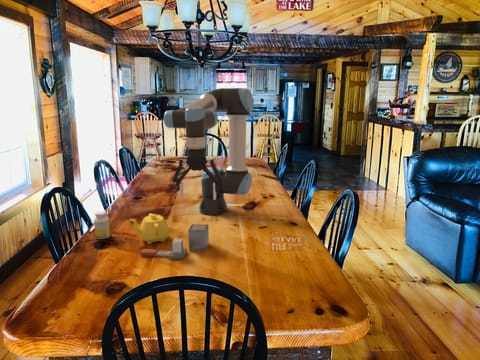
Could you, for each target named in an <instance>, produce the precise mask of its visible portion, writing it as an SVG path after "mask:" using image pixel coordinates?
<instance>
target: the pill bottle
mask: <svg viewBox="0 0 480 360" xmlns="http://www.w3.org/2000/svg"><path fill="white" fill-rule="evenodd" d="M94 215H95V218H94V219H93V224H94V231H95V237H96V238H97V239H98V240H103V239H107V238H110V237H111V235H112V232H111V224H110V223H111V222H110V218H109V217H108V216H107V211H105V210H100V211H96V212H95V213H94Z"/></svg>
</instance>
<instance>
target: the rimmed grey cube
mask: <svg viewBox="0 0 480 360" xmlns="http://www.w3.org/2000/svg"><path fill="white" fill-rule="evenodd" d="M187 231H188V233H187V234H188V235H187V236H188V251H189V252H207V250H208V247H209V244H210V239H209V224H197V223H196V224H194V223H193V224H191V225H190V227H189V229H188V230H187Z"/></svg>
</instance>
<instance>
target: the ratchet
mask: <svg viewBox="0 0 480 360" xmlns="http://www.w3.org/2000/svg"><path fill="white" fill-rule="evenodd" d="M171 245H172V250H170V251H169V250H158V248H142V250H141V251H140V257H150V258H151V257H168V260H182V261H183V260H185V258H186V257H187V254H188V251H189V247H188V248H187V247H186V248H184V238H174V239H173V241H172V244H171Z"/></svg>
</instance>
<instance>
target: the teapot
mask: <svg viewBox="0 0 480 360" xmlns="http://www.w3.org/2000/svg"><path fill="white" fill-rule="evenodd" d="M128 220H130V221H131V222H132V223H133V225H134V226H133V227H134V230H135V232H136V233H137V234H138V235H139V236H140V238H141V239H142V240H143V241H145V242H147V243H146V244H147V245H152V244H153V243H155V242H160V243H165V242H166V239H167V238H168V237H169V234H170V228H169V225H168V223H167V222H166V219H165V217H163V216H162V215H160V214H156V213H148V215H147V216H146V215H145V217H143V219H142V222H141V224H140V226H139V224H138V221H137V220H136V219H134V218H129V219H128Z"/></svg>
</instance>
